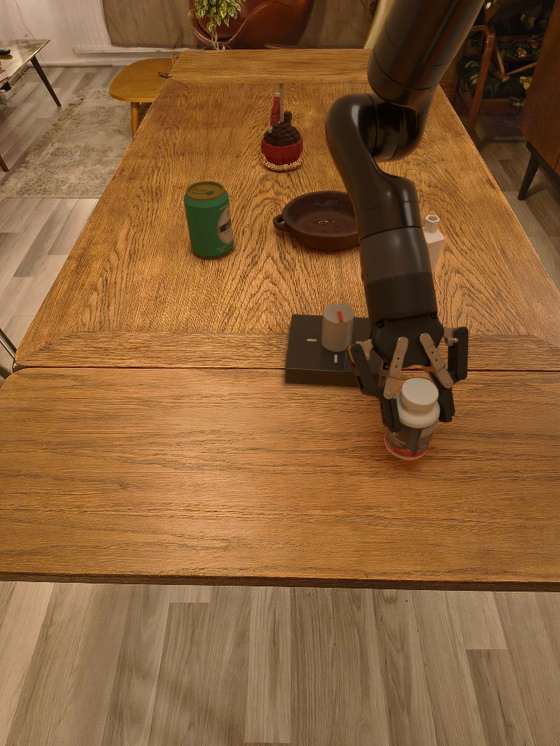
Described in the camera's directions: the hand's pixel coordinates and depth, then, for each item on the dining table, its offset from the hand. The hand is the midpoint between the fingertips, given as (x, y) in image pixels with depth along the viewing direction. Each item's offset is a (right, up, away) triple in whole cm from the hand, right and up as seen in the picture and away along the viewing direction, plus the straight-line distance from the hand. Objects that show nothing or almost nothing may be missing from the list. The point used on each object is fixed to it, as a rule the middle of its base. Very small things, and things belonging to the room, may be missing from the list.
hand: (420, 425), depth 58 cm
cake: (-15, +56, +67) cm, 89 cm away
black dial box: (-7, +8, +20) cm, 23 cm away
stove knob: (-7, +11, +18) cm, 22 cm away
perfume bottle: (+7, +18, +29) cm, 35 cm away
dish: (-6, +33, +44) cm, 56 cm away
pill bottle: (0, -3, +6) cm, 6 cm away
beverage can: (-29, +30, +41) cm, 58 cm away
